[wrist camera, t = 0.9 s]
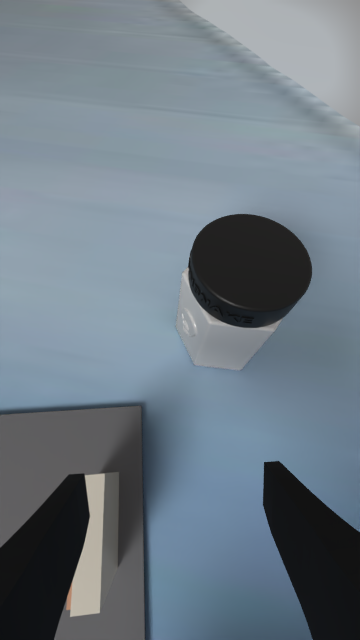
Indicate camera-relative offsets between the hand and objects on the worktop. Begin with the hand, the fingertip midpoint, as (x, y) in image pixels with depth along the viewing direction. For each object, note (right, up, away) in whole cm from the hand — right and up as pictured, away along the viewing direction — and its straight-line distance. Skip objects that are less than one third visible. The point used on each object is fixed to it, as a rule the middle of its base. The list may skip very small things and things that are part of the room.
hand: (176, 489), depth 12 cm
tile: (-5, -8, +10) cm, 14 cm away
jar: (+4, +5, +18) cm, 20 cm away
